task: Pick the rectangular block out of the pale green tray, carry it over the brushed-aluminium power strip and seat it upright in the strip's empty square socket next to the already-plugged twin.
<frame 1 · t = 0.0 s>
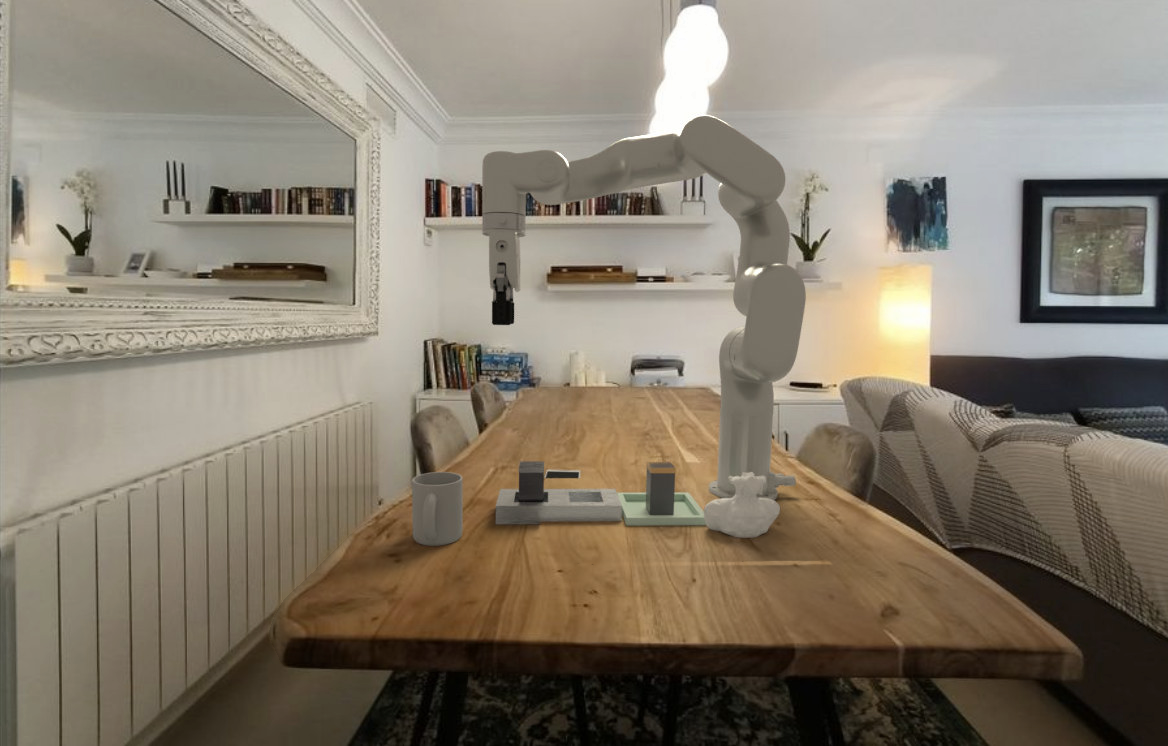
hand: (503, 324, 106), 31 cm above the table, fingers open, 9 cm apart
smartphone: (561, 485, 117), on the table
cup: (435, 542, 86), on the table
white tied sack: (742, 536, 91), on the table
pdu strip: (558, 514, 98), on the table
rectangular block: (659, 511, 99), resting on tray
tray: (659, 514, 100), on the table
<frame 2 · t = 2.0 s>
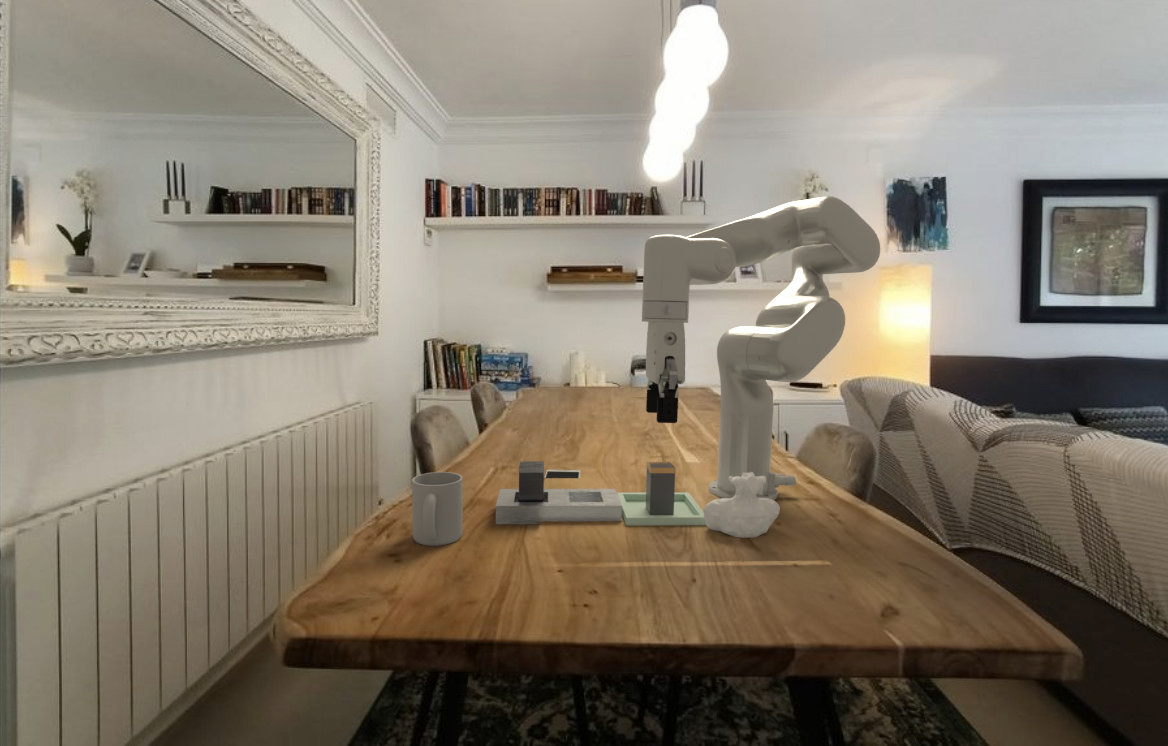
hand: (660, 417, 98), 17 cm above the table, fingers open, 9 cm apart
nothing on the table moved.
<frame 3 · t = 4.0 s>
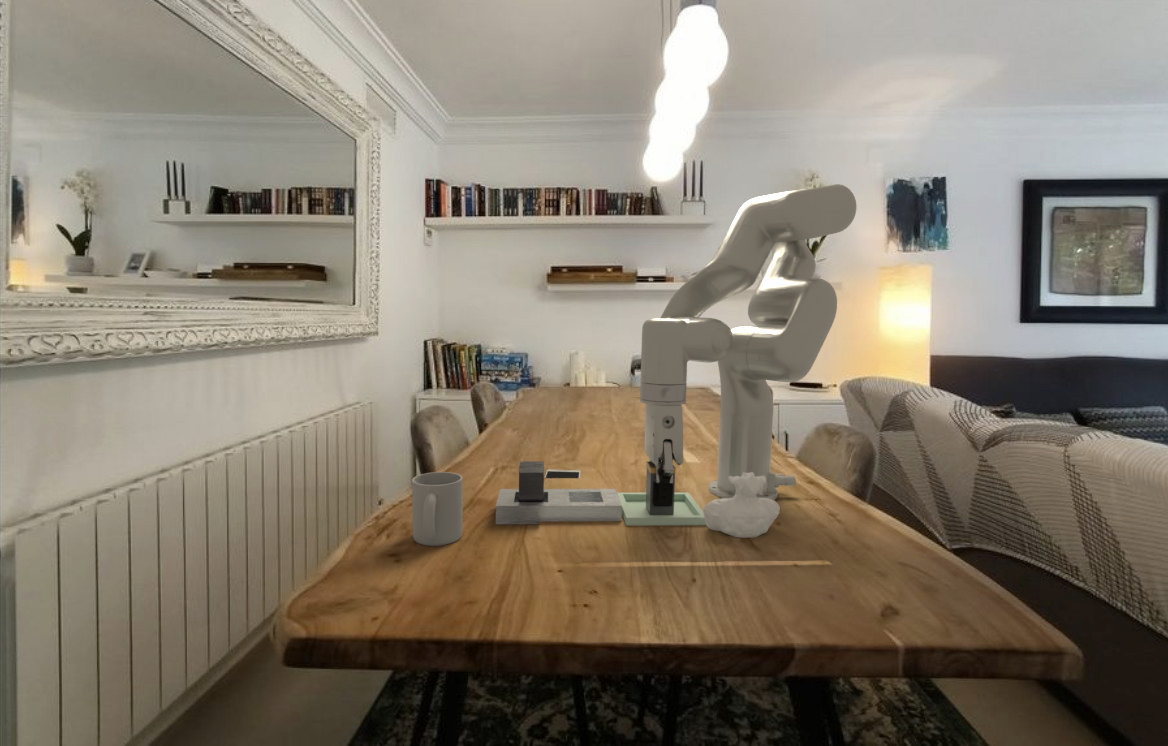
hand: (659, 500, 99), 2 cm above the table, fingers closed on rectangular block, 4 cm apart
rectangular block: (659, 511, 99), point 1 cm above the table, touching gripper, tray
everything else where it was.
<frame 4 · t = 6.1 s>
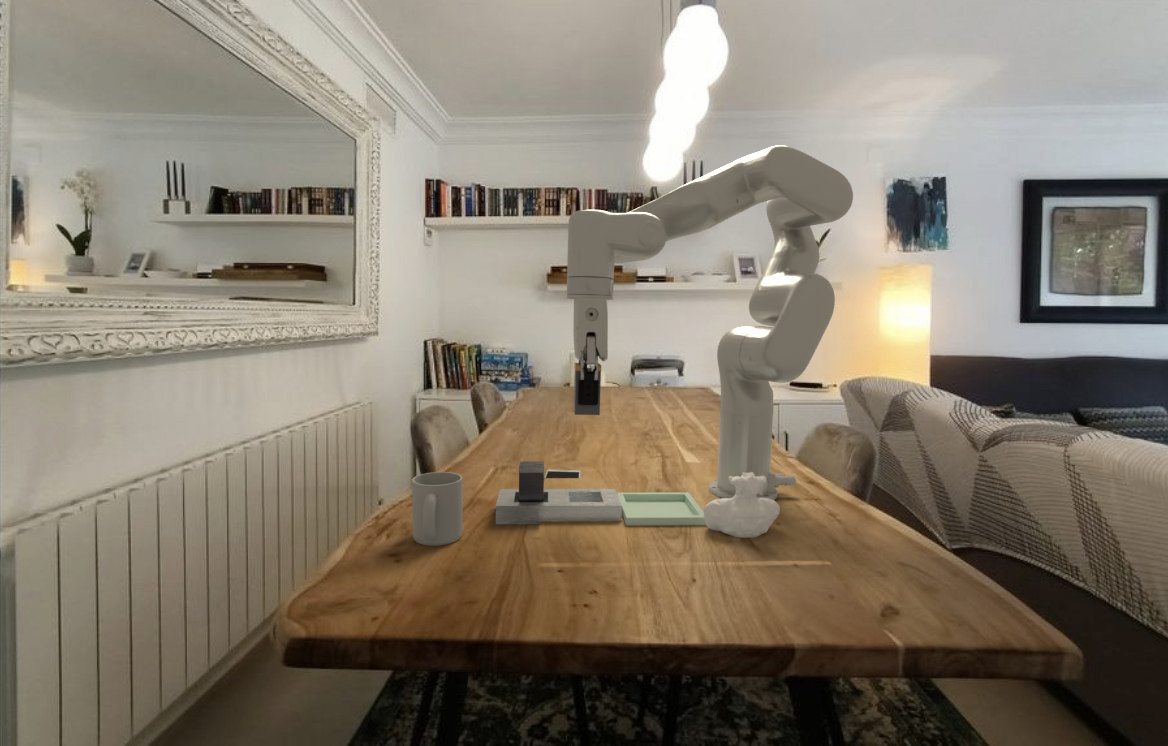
hand: (586, 401, 97), 19 cm above the table, fingers closed on rectangular block, 4 cm apart
rectangular block: (586, 412, 97), point 17 cm above the table, touching gripper
everything else where it was.
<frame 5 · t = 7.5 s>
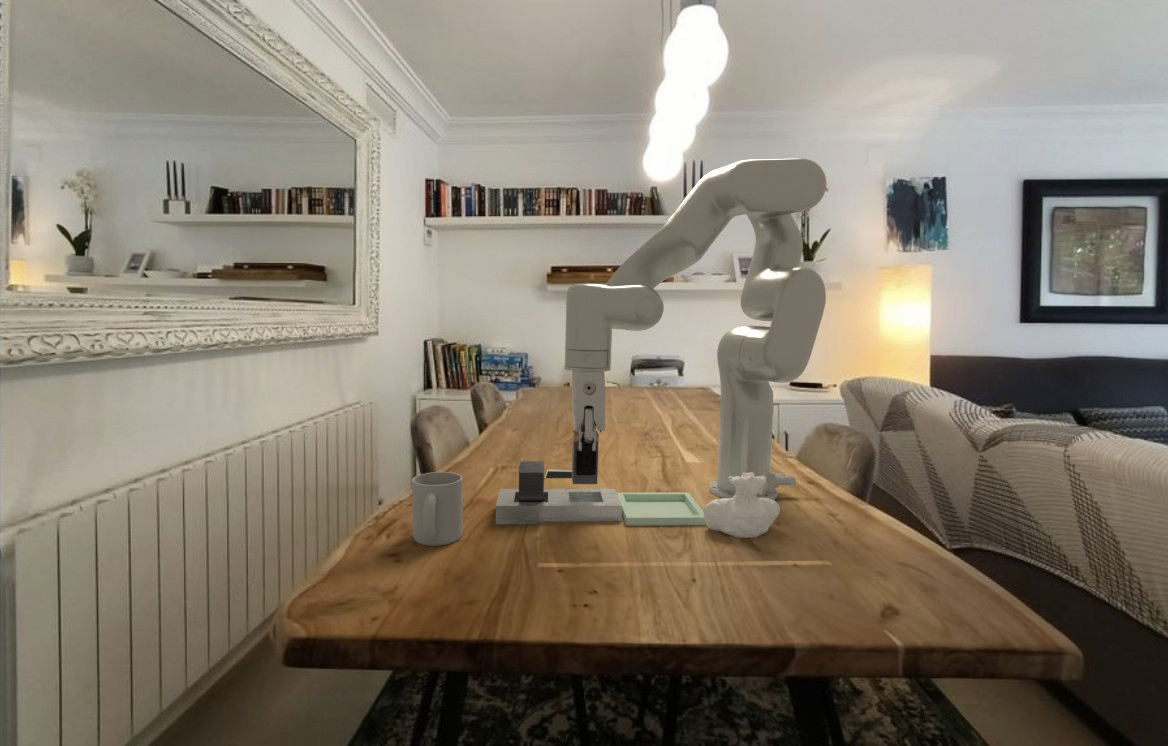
hand: (584, 469, 98), 8 cm above the table, fingers closed on rectangular block, 4 cm apart
rectangular block: (584, 480, 98), point 6 cm above the table, touching gripper
everything else where it was.
when the fingers open (4 cm above the table, at t = 8.5 s): rectangular block drops 2 cm, resting on pdu strip.
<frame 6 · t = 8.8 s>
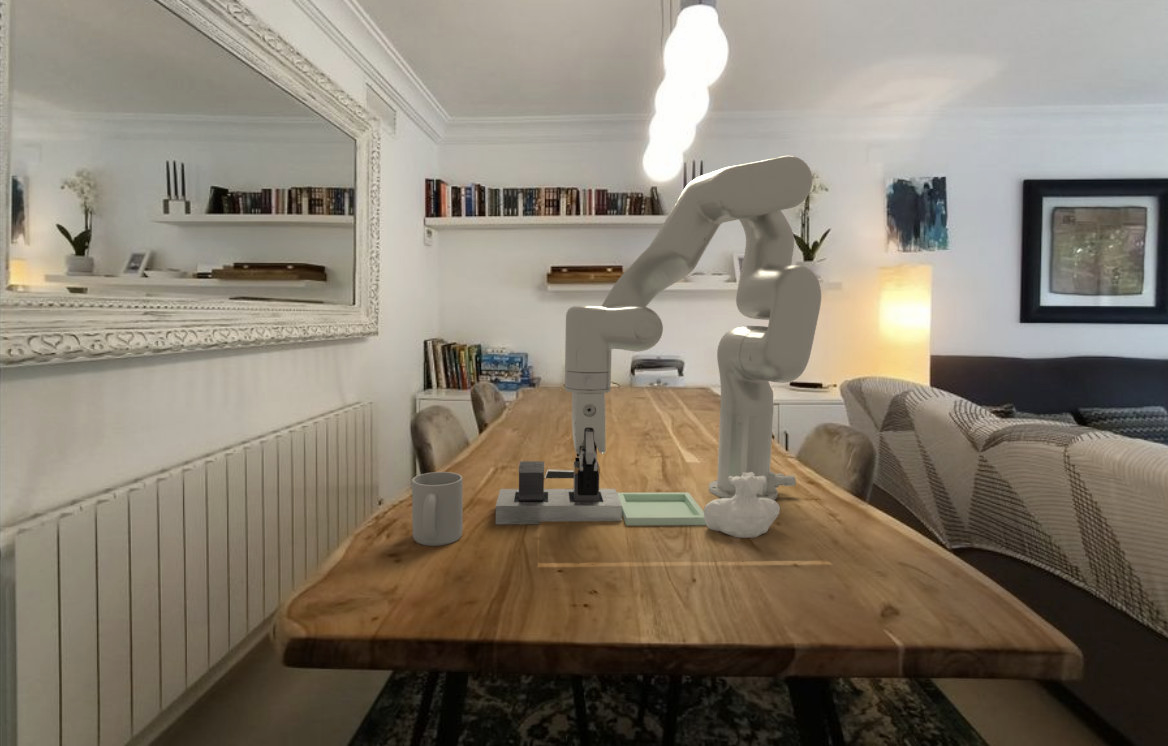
hand: (585, 486, 98), 5 cm above the table, fingers open, 7 cm apart
rectangular block: (585, 511, 99), point 1 cm above the table, touching pdu strip
everything else where it was.
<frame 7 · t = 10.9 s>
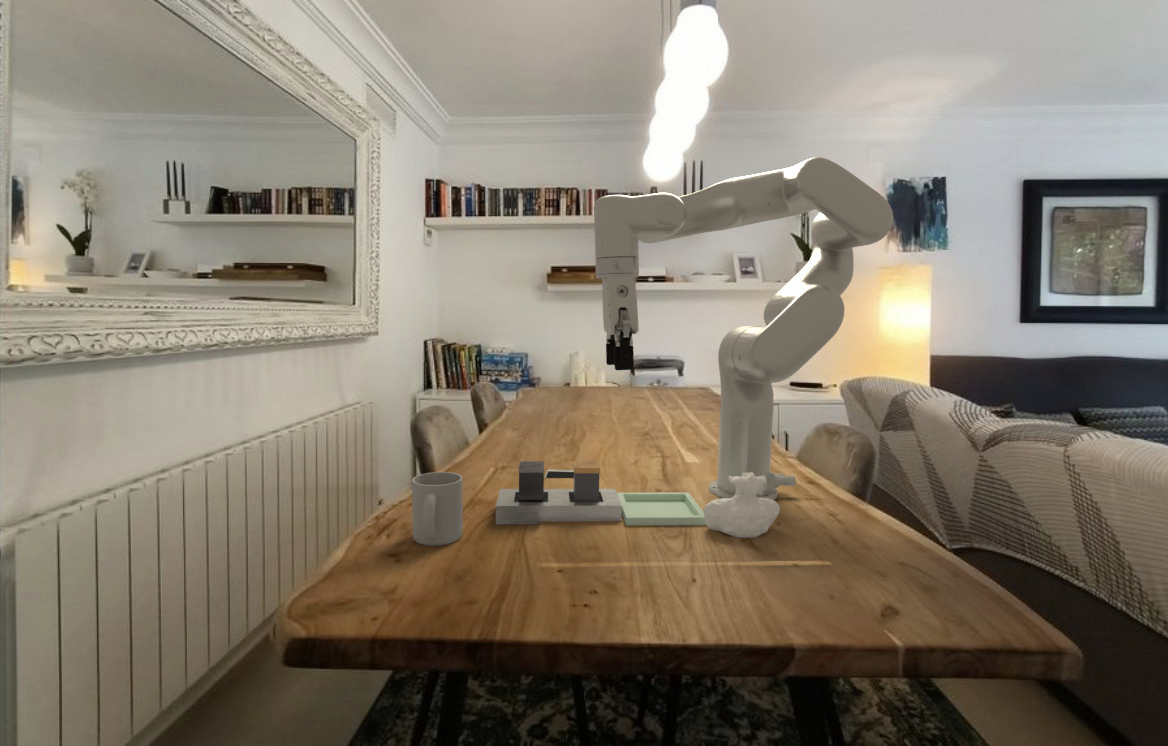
hand: (619, 367, 105), 24 cm above the table, fingers open, 9 cm apart
nothing on the table moved.
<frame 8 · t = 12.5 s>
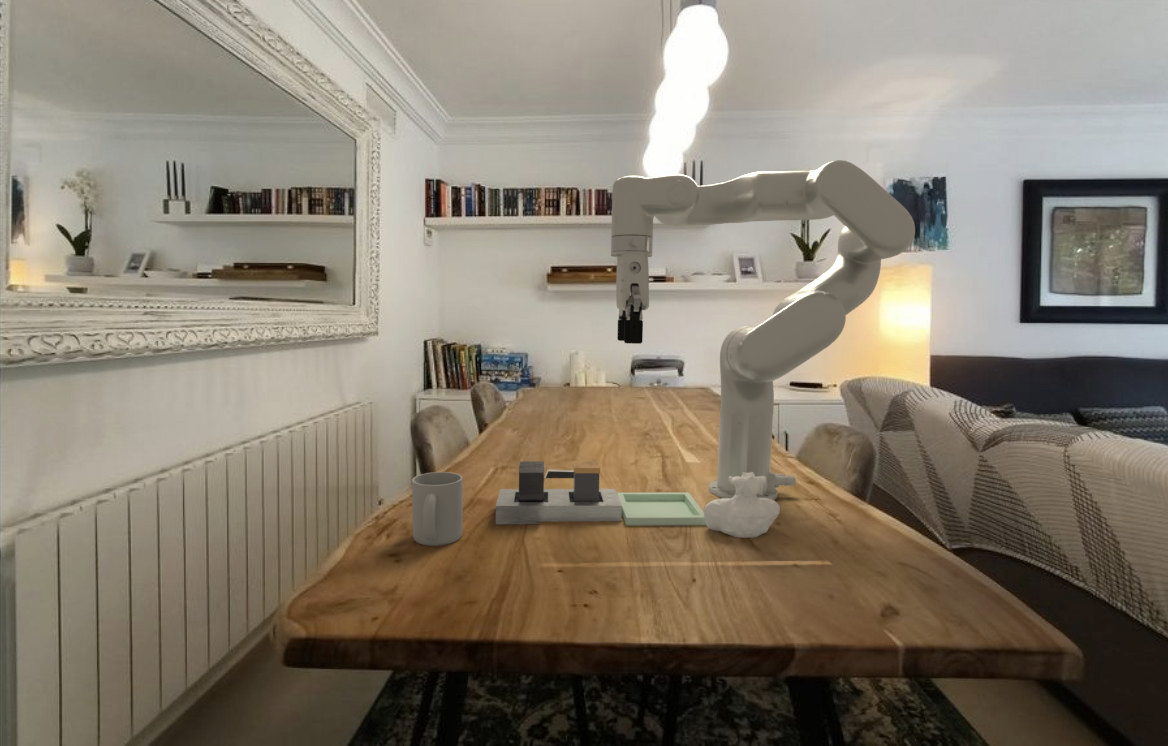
hand: (629, 341, 109), 28 cm above the table, fingers open, 9 cm apart
nothing on the table moved.
at the end: rectangular block 0.0 cm from the target spot on the pdu strip, point 0.5 cm above the pdu strip's base; rectangular block tilted 0°; the gripper is holding nothing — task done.
